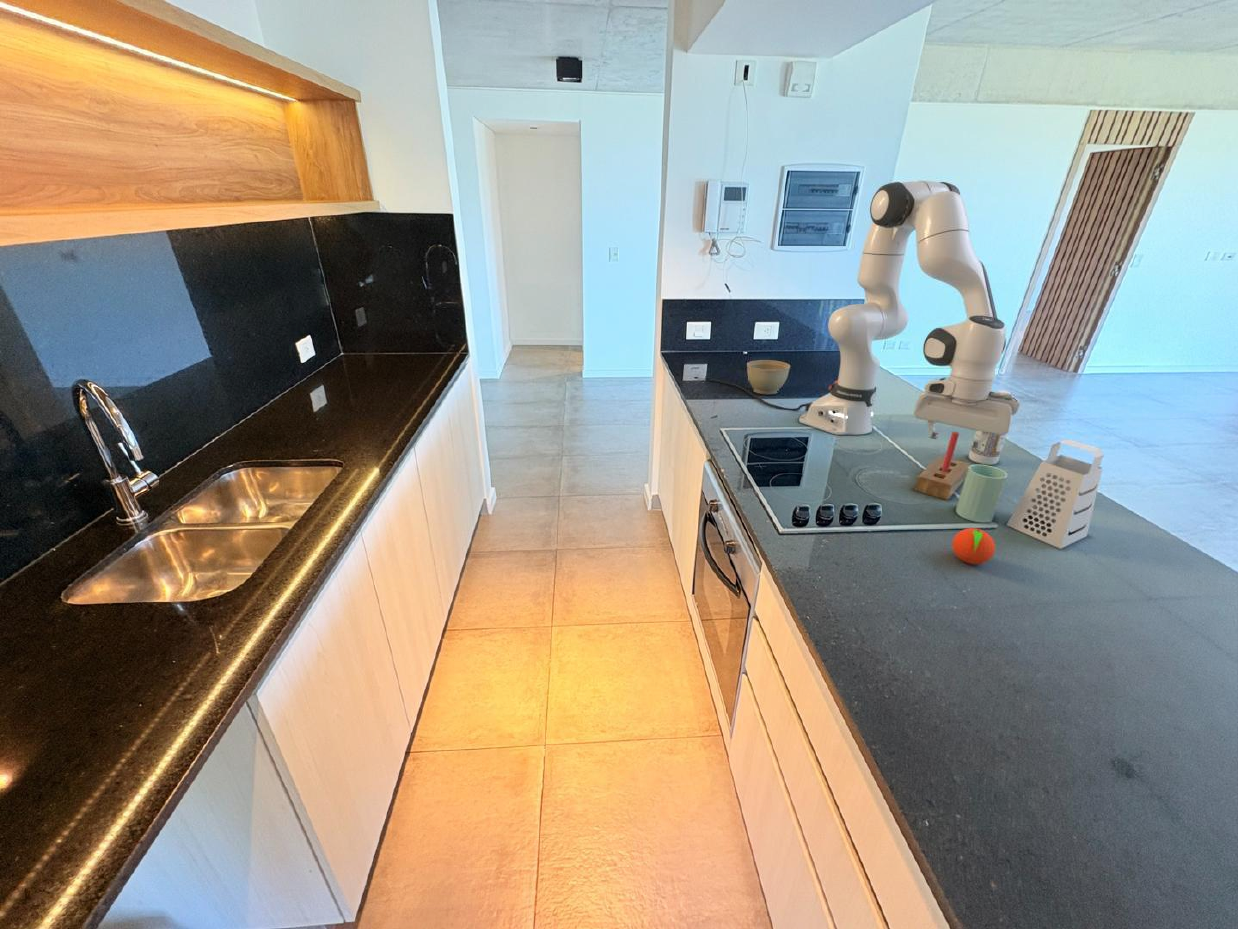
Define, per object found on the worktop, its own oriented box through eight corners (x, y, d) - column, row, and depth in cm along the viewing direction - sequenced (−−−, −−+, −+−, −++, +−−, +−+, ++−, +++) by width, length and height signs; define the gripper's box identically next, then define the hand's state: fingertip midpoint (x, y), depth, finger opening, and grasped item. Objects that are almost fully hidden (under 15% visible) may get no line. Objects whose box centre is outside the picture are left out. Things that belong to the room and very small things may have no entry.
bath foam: (989, 467, 144) (1012, 397, 135) (963, 459, 149) (983, 390, 140) (1001, 461, 147) (1024, 392, 139) (975, 453, 152) (995, 386, 144)
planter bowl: (791, 389, 211) (795, 362, 206) (779, 400, 198) (783, 371, 194) (752, 383, 219) (755, 357, 214) (738, 393, 206) (741, 366, 202)
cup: (951, 514, 121) (964, 471, 116) (960, 503, 125) (973, 461, 121) (988, 526, 116) (1003, 481, 111) (995, 514, 121) (1010, 470, 116)
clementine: (989, 578, 99) (1000, 546, 96) (947, 567, 102) (956, 535, 99) (989, 557, 105) (999, 527, 102) (949, 547, 109) (958, 517, 106)
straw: (937, 483, 135) (951, 432, 129) (938, 482, 136) (953, 431, 130) (943, 485, 134) (958, 434, 128) (945, 483, 135) (960, 432, 129)
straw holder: (914, 490, 132) (918, 476, 130) (935, 469, 143) (939, 455, 141) (947, 500, 127) (951, 485, 125) (966, 477, 138) (970, 463, 136)
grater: (1060, 548, 108) (1097, 459, 100) (1006, 525, 116) (1036, 441, 108) (1086, 535, 112) (1124, 449, 104) (1032, 514, 121) (1063, 432, 112)
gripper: (1024, 393, 120) (1007, 450, 125) (926, 378, 133) (914, 429, 138) (1019, 399, 115) (1001, 457, 121) (918, 383, 128) (906, 436, 134)
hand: (954, 442), depth 130 cm, fingers open, 8 cm apart
